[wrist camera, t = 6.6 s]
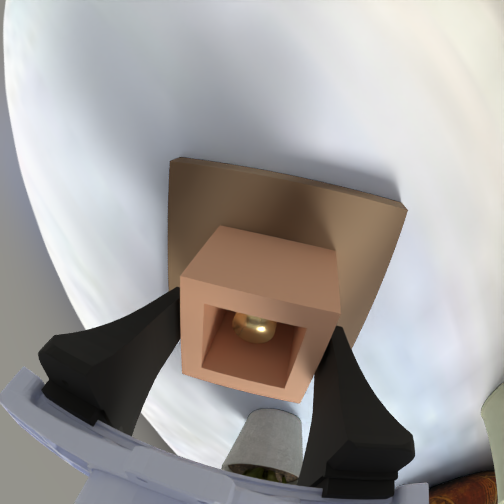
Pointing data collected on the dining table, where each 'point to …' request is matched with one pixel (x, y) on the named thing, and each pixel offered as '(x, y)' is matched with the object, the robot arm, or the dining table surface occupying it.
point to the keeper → (284, 228)
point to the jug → (466, 490)
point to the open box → (258, 312)
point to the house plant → (268, 447)
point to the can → (496, 434)
